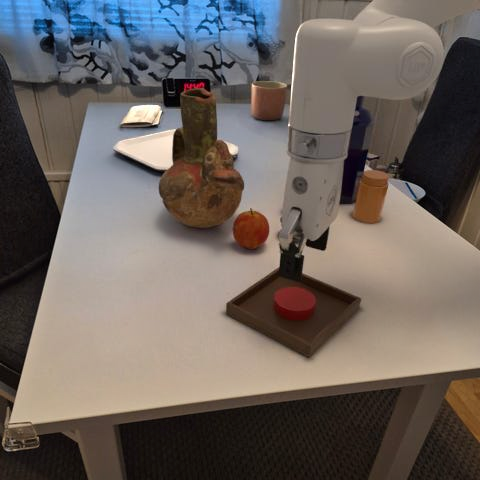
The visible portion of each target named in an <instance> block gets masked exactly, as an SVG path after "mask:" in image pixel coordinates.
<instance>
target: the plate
mask: <svg viewBox="0 0 480 480" xmlns="http://www.w3.org/2000/svg"><path fill="white" fill-rule="evenodd" d="M176 129H177V128H176ZM176 129H169V130H164V131H159V132H154V133H151V134H150V133H149V134H146V135H142V136H136V137H133V138H128V139H123V140H119V141H117V142H116V143H115V145H114V146H113V148H112V150H113V152H116V153H118V154H120V155H122V156H124V157H126V158H128V159H131V160H133V161H135V162H137V163H139V164H141V165H144V166H146V167H148V168H151V169H152V170H154V171H158V172H162V173H165V171H166V170H167V169H169V168H170V167H171V166H172V165H173V160H172V147H173V135H174V132H175V131H176ZM217 140H220V139H219V138H217ZM224 142H225V143H226V144H227V146H228V149H229V152H230V153H231V154H232V155H233V158H234V157H236V156H238V155H239V147H238V146H237V145H235V144H232V143H230V142H227V141H224Z"/></svg>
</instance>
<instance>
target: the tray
mask: <svg viewBox="0 0 480 480" xmlns="http://www.w3.org/2000/svg"><path fill="white" fill-rule="evenodd" d="M286 287H299V288H303V289H306V290H308V291H309V292H311V293H312V294H313V295H314V296H315V298H316V305H315V311H314V313H313V315H312V316H311V317H309V318H307V319H304V320H289V319H286V318H283V317H281V316H280V315H278V314H277V313H276V312H275V310H274V297H275V294H276V292H277V291H279V290H280V289H283V288H286ZM361 302H362V297H360V296H357V295H354V294H352V293H350V292H348V291H345V290H343V289H341V288H338V287H335V286H333V285H331V284H330V283H329V284H328V283H326V282H324V281H322V280H320V279H317V278H315V277H312V276H310V275H307V274H305V273H303V272H302V279H301V280H300V281H299V282H296V281H293V280H290V279H286V278H283V277H280V276H279V266H278V267H277V268H275V269H274V270H271V272H270V273H268V274H267V275H265V276H264V277H262V278H260V279H259V280H258V281H256V282H255V283H253V284H252V285H250V286H249V287H248V288H246V289H245V290H244V291H242V292H241V293H239V294H237V295H236V296H234V297H233V298H231V299H230V300H229V301H227V302H226V303H225V304H226V305H225V314H226V315H227V316H229V317H231V318H233V319H235V320H237V321H238V322H241V323H242V324H245V326H248V327H250V328H252V329H254V330H256V331H257V332H259V333H261V334H263V335H266V336H267V337H269V338H271V339H273V340H275V341H277V342H278V343H281V344H282V345H284V346H286V347H288V348H290V349H292V350H293V351H296V352H297V353H299V354H301V355H303V356H305V357H307V358H311V357H312V355H314V354H315V353H316V352H317V351H318V350H319V349H320V348H321V347H322V346H323V345H324V344H325V343H326V342H327V341H328V340H329V339H330V338H331V337H332V336H333V335H334V334H335V333H336V332H337V331H338V330H339V329H340V328H341V327H342V326H343V325H344V324H346V322H347V321H348V320H349V319H350V318H352V316H353V315H355V314H356V312H358V310H359V309H360V306H361Z"/></svg>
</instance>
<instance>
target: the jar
mask: <svg viewBox="0 0 480 480" xmlns="http://www.w3.org/2000/svg"><path fill="white" fill-rule="evenodd" d="M389 179H390V177H389V174H388V173H387V172H384V171H382V170H377V169H368V170H364V172H363V175H362V178H361V179H360V181H359V186H358V191H357V196H356V201H355V202H354V206H353V210H352V217H353V219H355V220H356V221H358V222H360V223H361V222H362V223H366V224H373V223H374V224H375V223H378V222H379V221H380V220H381V218H382V217H381V216H382V213H383V209H384V204H385V200H386V196H387V193H388V189H389V184H390V183H389V182H388V181H389Z"/></svg>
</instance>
